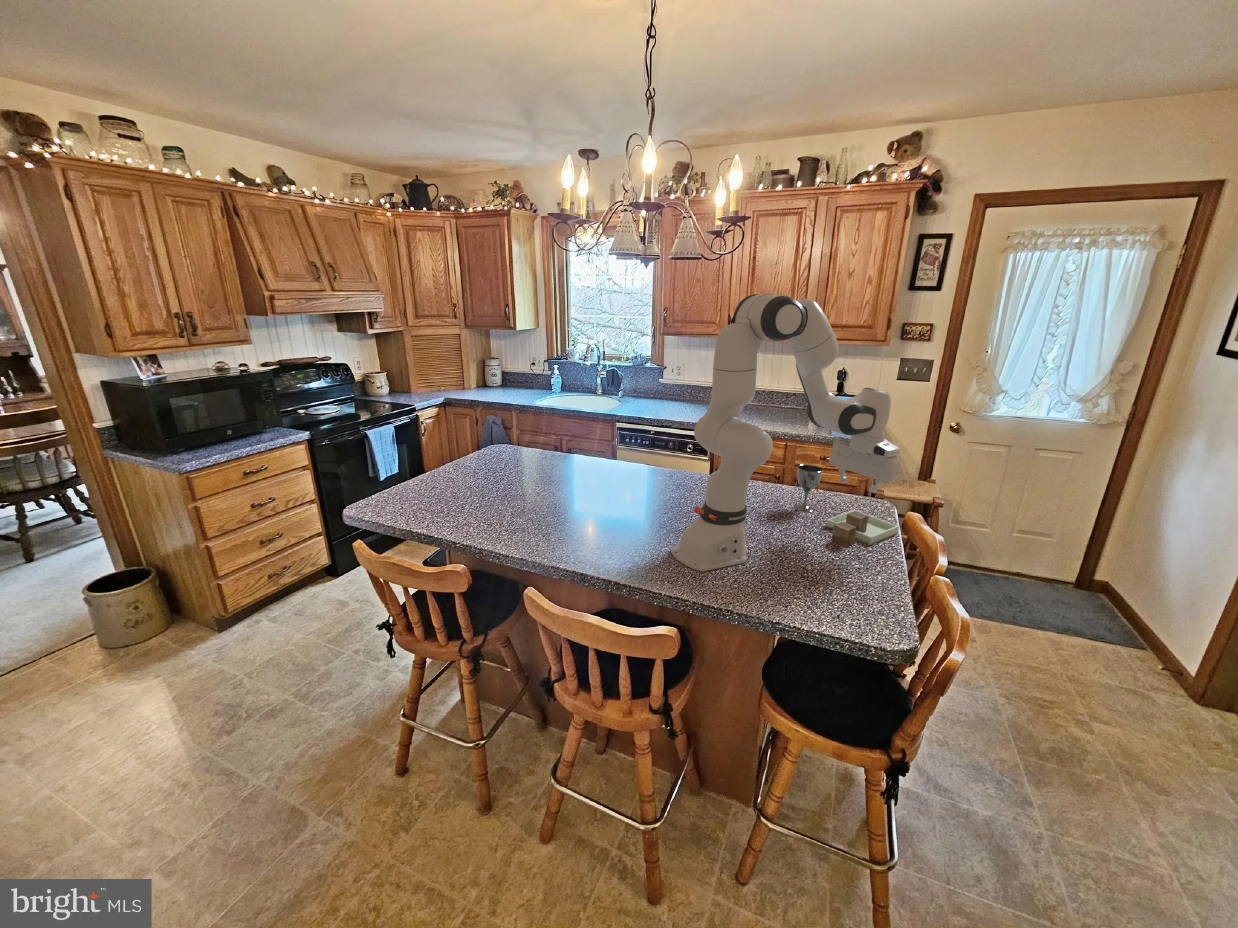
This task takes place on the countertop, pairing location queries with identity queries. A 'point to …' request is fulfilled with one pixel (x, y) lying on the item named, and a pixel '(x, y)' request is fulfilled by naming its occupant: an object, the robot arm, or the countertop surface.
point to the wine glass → (808, 483)
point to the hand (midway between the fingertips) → (857, 487)
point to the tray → (868, 528)
